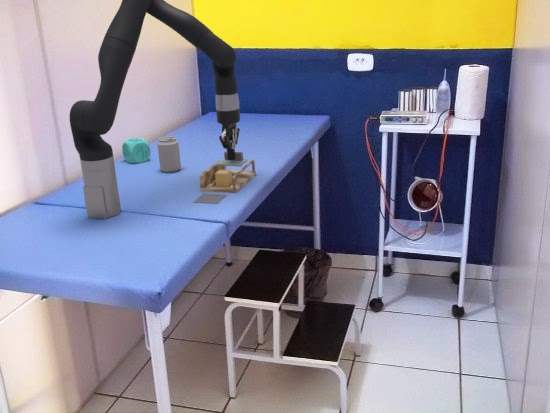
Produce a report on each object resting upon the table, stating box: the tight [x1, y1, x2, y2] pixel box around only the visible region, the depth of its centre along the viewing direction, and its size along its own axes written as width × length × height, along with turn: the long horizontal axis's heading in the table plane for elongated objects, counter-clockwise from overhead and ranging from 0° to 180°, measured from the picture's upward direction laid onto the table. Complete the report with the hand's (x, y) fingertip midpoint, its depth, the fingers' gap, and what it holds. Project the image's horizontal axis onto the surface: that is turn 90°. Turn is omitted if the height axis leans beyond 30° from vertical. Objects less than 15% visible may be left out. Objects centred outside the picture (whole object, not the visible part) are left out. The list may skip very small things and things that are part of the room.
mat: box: [192, 193, 228, 205], centre depth 185 cm, size 8×8×1 cm
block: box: [215, 169, 232, 187], centre depth 195 cm, size 4×4×5 cm
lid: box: [215, 151, 248, 168], centre depth 201 cm, size 6×9×3 cm
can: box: [156, 135, 182, 174], centre depth 216 cm, size 8×8×12 cm
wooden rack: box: [198, 157, 257, 194], centre depth 199 cm, size 20×12×6 cm, turn 163°
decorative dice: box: [121, 137, 152, 164], centre depth 231 cm, size 8×8×8 cm
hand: (231, 159), depth 200 cm, fingers closed
